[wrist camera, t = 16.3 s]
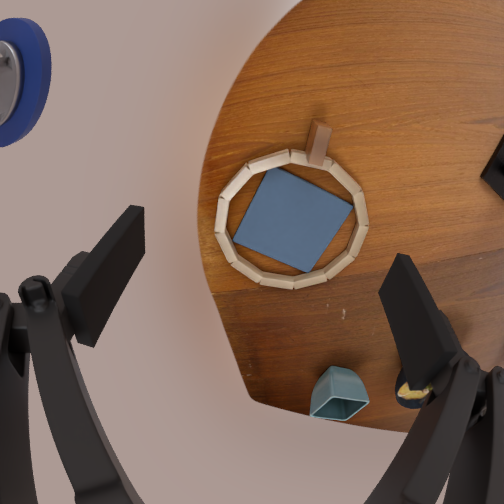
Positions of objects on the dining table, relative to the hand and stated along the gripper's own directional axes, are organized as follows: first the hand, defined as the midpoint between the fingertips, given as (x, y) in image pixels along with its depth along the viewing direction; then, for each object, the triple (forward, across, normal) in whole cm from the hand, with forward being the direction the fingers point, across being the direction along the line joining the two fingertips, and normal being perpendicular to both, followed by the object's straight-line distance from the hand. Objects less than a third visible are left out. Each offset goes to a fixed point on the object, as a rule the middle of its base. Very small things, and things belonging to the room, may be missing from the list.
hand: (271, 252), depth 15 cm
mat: (+24, +5, -10) cm, 26 cm away
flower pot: (+23, +22, -42) cm, 53 cm away
